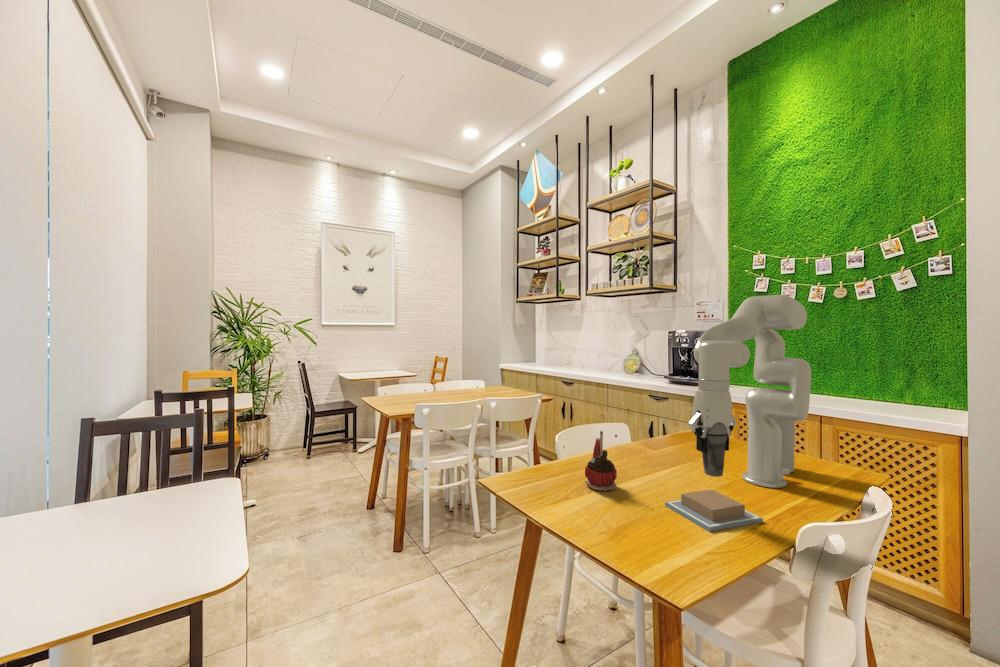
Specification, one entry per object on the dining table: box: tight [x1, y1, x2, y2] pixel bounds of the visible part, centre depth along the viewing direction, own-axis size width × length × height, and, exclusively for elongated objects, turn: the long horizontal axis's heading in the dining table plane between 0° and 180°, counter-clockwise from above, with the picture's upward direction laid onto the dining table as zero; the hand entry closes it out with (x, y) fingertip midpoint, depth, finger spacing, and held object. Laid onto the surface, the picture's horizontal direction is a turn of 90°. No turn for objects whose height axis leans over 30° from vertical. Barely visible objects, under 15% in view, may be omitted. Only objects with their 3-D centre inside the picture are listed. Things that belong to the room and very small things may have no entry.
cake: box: [584, 430, 618, 491], centre depth 131 cm, size 11×9×18 cm
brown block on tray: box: [664, 489, 764, 533], centre depth 112 cm, size 18×16×4 cm
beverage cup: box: [701, 422, 728, 478], centre depth 112 cm, size 7×7×20 cm
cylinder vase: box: [774, 418, 796, 473], centre depth 150 cm, size 12×12×25 cm
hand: (712, 449), depth 112 cm, fingers closed on beverage cup, 6 cm apart
